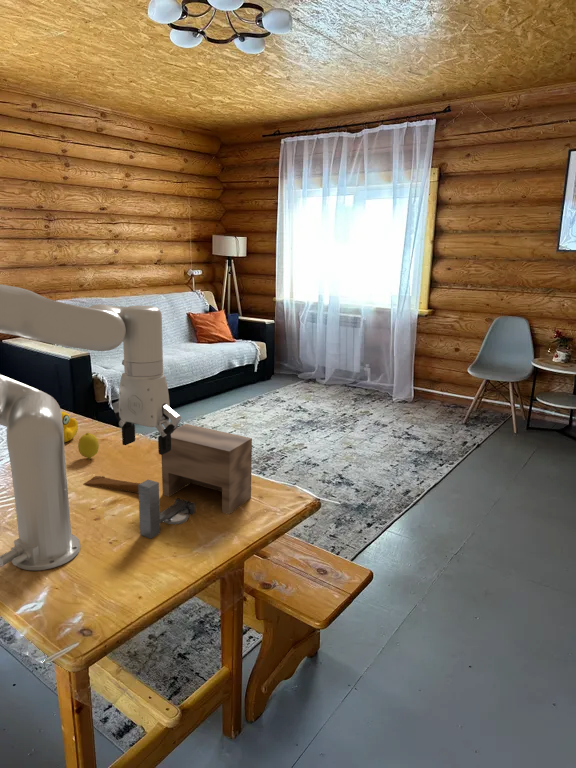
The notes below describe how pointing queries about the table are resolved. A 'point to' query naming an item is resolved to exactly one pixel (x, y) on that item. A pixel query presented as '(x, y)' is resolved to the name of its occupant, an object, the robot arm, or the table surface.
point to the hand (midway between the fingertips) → (146, 447)
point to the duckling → (69, 426)
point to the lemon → (88, 445)
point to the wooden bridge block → (209, 464)
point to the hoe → (156, 508)
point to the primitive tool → (112, 484)
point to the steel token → (178, 517)
